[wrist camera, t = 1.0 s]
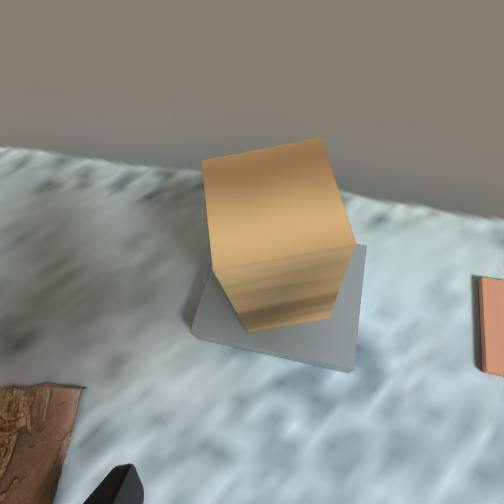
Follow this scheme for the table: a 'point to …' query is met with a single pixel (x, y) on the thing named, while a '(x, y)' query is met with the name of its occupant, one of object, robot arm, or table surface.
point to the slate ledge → (294, 336)
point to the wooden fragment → (34, 440)
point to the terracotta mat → (492, 325)
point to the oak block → (277, 233)
